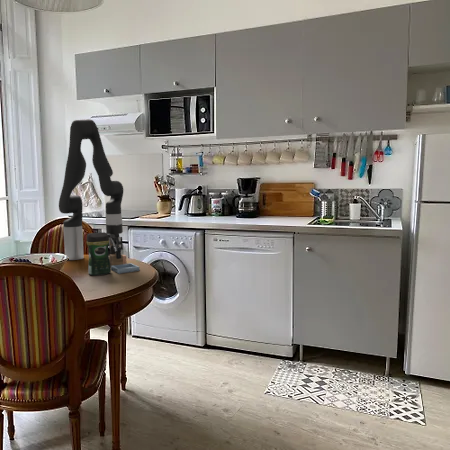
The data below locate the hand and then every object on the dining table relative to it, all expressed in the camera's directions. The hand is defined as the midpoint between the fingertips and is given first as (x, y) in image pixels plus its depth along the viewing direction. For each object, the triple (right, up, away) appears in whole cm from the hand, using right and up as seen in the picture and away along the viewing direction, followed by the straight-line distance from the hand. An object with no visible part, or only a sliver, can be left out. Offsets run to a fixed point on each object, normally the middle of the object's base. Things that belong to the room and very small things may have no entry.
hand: (115, 257), depth 204 cm
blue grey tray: (+6, -6, -6) cm, 10 cm away
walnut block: (0, -5, +1) cm, 5 cm away
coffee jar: (-4, -7, -12) cm, 14 cm away
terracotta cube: (0, -4, +10) cm, 10 cm away
